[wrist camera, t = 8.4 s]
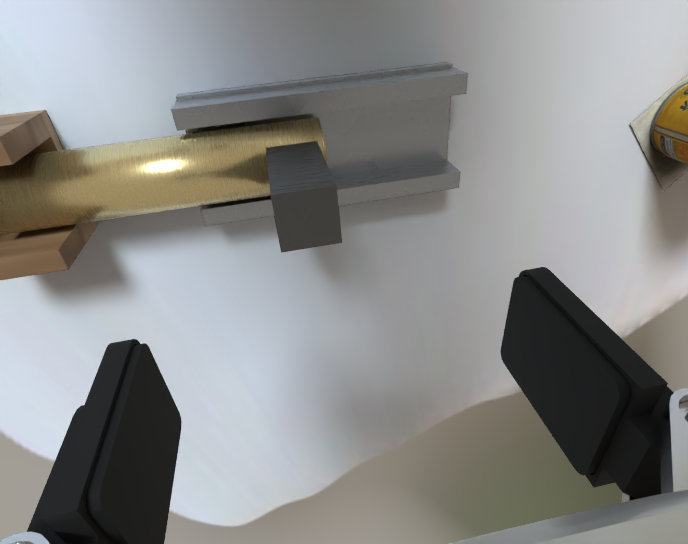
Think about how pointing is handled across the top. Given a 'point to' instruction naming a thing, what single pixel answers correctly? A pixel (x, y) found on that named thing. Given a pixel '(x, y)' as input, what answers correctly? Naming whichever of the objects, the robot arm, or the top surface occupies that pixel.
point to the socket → (44, 244)
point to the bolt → (181, 180)
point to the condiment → (666, 134)
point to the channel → (345, 129)
